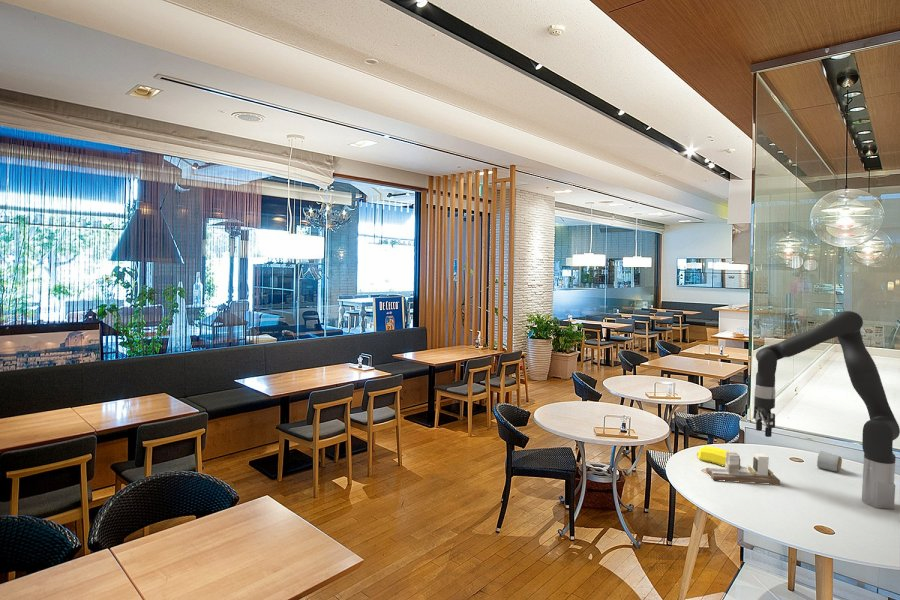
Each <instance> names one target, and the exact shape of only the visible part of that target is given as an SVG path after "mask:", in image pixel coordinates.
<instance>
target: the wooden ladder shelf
mask: <svg viewBox="0 0 900 600" xmlns="http://www.w3.org/2000/svg"><path fill="white" fill-rule="evenodd" d="M724 467H725V466H724ZM706 472H707V473H708V474H709V475H710V476H711V477H710V476H709V475H708V474H707V473H706ZM705 473H706V474H707V475H708V476H709V477H710V479H711V480H712V479H713V480H725V481H724V482H727V481H739V482H738V483H743V482H755V483H754V484H759V483H769V484H768V485H775V484H778V485H781V484H780V483H781V482H780V481H781V480H780V478H778V477H777V475H775V474H774V472H773V471H772V470H771V469H769V468H768V476H765V475H757V474H756V471H754V469H753V467H751V466H750V465H748V466H747V469H746V470H745V469H741V458H740V454H738V453H737V452H735V451H730V452H726V467H725V468H713V467H712V468H711V467H706V468H705ZM713 480H712V481H713Z"/></svg>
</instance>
